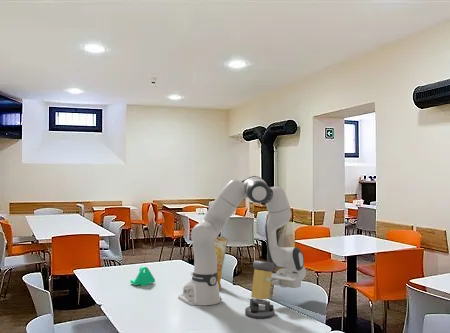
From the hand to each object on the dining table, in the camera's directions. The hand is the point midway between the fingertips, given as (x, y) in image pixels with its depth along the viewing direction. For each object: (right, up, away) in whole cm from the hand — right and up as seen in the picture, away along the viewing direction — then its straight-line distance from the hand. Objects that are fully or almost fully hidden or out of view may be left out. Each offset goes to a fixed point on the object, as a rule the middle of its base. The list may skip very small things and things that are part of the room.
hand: (269, 283), depth 196 cm
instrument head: (-5, -6, -7) cm, 11 cm away
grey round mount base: (-5, -12, -7) cm, 15 cm away
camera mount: (-68, -14, +47) cm, 84 cm away
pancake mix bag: (-27, -13, +42) cm, 51 cm away
